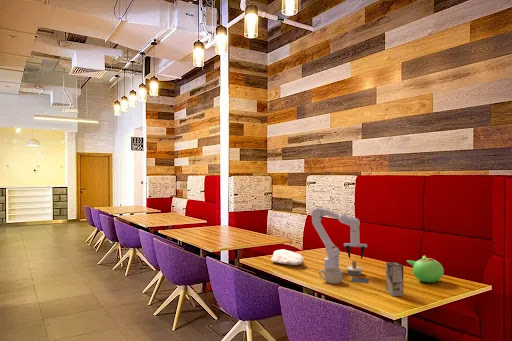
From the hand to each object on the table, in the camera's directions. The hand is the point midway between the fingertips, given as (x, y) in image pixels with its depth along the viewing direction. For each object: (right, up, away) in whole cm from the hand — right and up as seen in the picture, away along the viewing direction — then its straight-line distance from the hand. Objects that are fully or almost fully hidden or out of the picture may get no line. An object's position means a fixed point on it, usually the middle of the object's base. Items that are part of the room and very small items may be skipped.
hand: (355, 258), depth 243 cm
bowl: (-1, -10, -1) cm, 11 cm away
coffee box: (+11, -10, -40) cm, 43 cm away
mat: (-2, -10, -16) cm, 19 cm away
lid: (-1, -7, -1) cm, 7 cm away
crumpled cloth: (-40, -11, +31) cm, 52 cm away
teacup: (-20, -11, -19) cm, 30 cm away
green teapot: (+39, -10, -18) cm, 44 cm away
